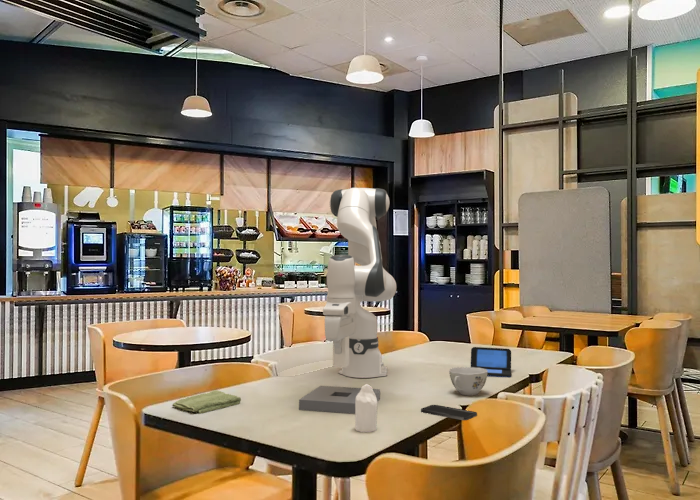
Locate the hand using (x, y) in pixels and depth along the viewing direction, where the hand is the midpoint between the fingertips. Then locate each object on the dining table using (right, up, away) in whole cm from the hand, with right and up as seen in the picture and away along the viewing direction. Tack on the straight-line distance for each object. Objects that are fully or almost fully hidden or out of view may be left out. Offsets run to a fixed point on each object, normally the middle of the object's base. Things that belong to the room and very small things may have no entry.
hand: (340, 352), depth 185 cm
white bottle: (+7, -16, -27) cm, 32 cm away
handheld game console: (+57, -17, +49) cm, 77 cm away
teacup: (+41, -16, +14) cm, 46 cm away
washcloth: (-40, -16, -2) cm, 44 cm away
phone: (+31, -16, -11) cm, 37 cm away
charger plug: (0, -4, 0) cm, 4 cm away
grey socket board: (0, -16, 0) cm, 16 cm away
